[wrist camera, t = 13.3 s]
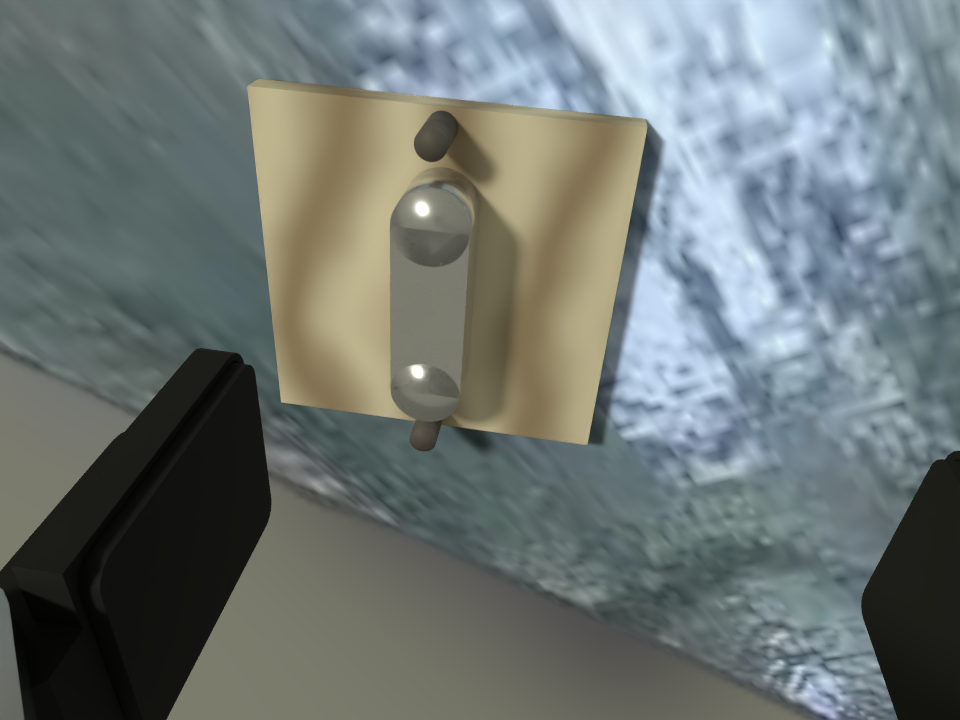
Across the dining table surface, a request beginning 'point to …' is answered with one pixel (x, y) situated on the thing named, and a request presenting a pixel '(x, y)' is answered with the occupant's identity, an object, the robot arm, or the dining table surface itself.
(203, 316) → the dining table surface
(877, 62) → the dining table surface
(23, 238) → the dining table surface
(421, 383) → the grey capsule bar
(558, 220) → the board
